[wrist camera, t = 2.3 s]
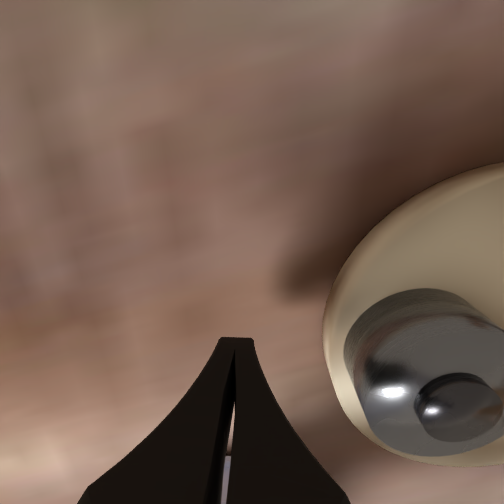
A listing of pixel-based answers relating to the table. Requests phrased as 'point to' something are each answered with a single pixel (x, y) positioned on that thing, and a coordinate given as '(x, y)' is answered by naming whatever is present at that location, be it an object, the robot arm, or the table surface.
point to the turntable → (424, 277)
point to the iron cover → (428, 372)
